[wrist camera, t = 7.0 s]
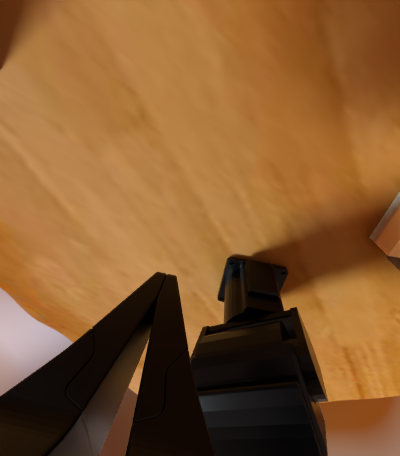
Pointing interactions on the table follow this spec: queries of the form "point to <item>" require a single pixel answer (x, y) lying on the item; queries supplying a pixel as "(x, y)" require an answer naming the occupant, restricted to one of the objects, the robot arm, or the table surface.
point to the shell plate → (389, 230)
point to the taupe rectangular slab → (395, 261)
